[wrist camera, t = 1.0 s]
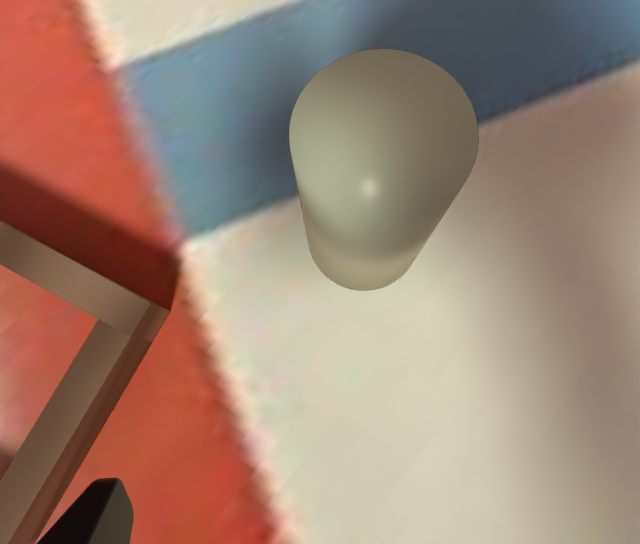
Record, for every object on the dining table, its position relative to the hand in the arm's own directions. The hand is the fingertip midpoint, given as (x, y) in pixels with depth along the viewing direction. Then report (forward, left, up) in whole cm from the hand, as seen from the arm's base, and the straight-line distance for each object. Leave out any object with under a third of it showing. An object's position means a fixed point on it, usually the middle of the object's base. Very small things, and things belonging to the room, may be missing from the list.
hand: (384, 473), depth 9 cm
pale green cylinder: (+3, -7, -13) cm, 16 cm away
